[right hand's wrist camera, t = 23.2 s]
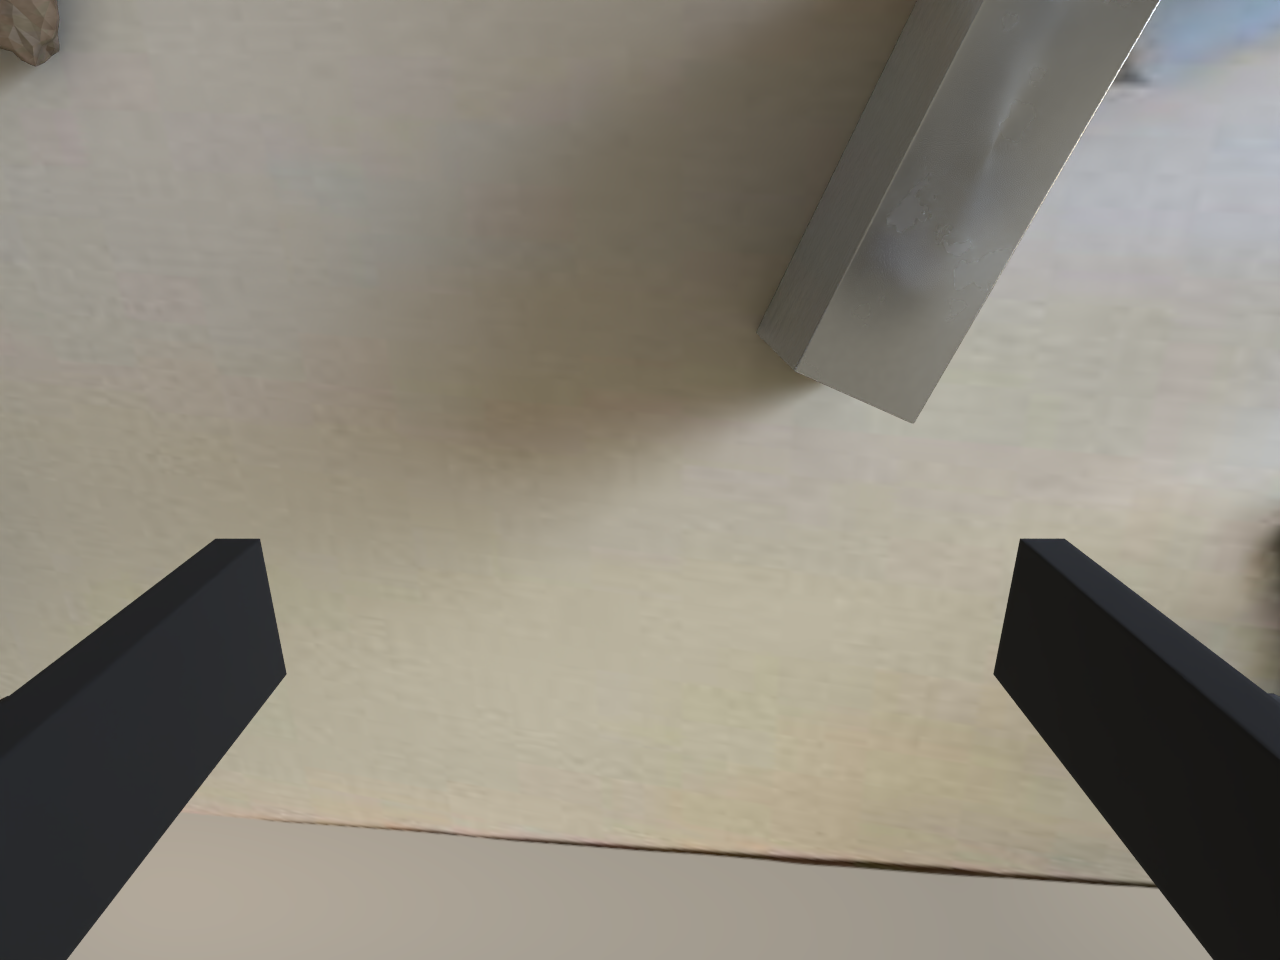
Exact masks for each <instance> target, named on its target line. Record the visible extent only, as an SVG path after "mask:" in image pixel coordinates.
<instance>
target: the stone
mask: <svg viewBox="0 0 1280 960" xmlns="http://www.w3.org/2000/svg"><path fill="white" fill-rule="evenodd" d="M58 26H59V13H58V6H57V0H0V48H1V49H5V50H9V51H13V52H14V53H15V54H16V55H17V56H18V57H19V58H20V59H21V60H22V61H24V62H27V63H29V64H31V65H33V66H38V65H40V64H42V63H45V62H46V61H47V60H48V59H49V58H50V57H51V56H52V55H54V54H55V53H57V52H58V51H59V40H58Z"/></svg>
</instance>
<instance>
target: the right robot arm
mask: <svg viewBox="0 0 1280 960" xmlns="http://www.w3.org/2000/svg"><path fill="white" fill-rule="evenodd" d="M285 675H286V669H285V664H284V659H283V654H282V649H281V644H280V639H279V634H278V628H277V623H276V618H275V613H274V608H273V603H272V598H271V593H270V588H269V583H268V578H267V573H266V567H265V562H264V557H263V552H262V547H261V542H260V539H215V540H213V541H212V542H211V543H209V544H208V545H207V546H205V547H204V548H203V549H201V550H200V551H199V552H198V553H196V554H195V555H194V556H192V557H191V558H190V559H188V560H187V561H186V562H184V563H183V564H182V565H180V566H179V567H178V568H177V569H175V570H174V571H173V572H171V573H170V574H169V575H167V576H166V577H165V578H163V579H162V580H161V581H159V582H158V583H157V584H156V585H154V586H153V587H152V588H150V589H149V590H148V591H146V592H145V593H144V594H142V595H141V596H140V597H138V598H137V599H136V600H135V601H133V602H132V603H131V604H129V605H128V606H127V607H125V608H124V609H123V610H121V611H120V612H119V613H117V614H116V615H115V616H114V617H112V618H111V619H110V620H108V621H107V622H106V623H104V624H103V625H102V626H100V627H99V628H98V629H97V630H95V631H94V632H93V633H91V634H90V635H89V636H87V637H86V638H85V639H83V640H82V641H81V642H79V643H78V644H77V645H76V646H74V647H73V648H72V649H70V650H69V651H68V652H66V653H65V654H64V655H62V656H61V657H60V658H58V659H57V660H56V661H55V662H53V663H52V664H51V665H49V666H48V667H47V668H45V669H44V670H43V671H41V672H40V673H39V674H37V675H36V676H35V677H34V678H32V679H31V680H30V681H28V682H27V683H26V684H24V685H23V686H22V687H20V688H19V689H18V690H16V691H15V692H14V693H13V694H11V695H10V696H7V697H5V698H3V699H1V700H0V960H67V959H68V957H69V956H70V955H71V953H72V952H73V951H74V949H75V948H76V947H77V946H78V944H79V943H80V942H81V940H82V939H83V938H84V936H85V935H86V934H87V933H88V931H89V930H90V929H91V927H92V926H93V925H94V923H95V922H96V921H97V920H98V918H99V917H100V916H101V914H102V913H103V912H104V911H105V909H106V908H107V907H108V905H109V904H110V903H111V901H112V900H113V899H114V897H115V896H116V895H117V894H118V892H119V891H120V890H121V888H122V887H123V886H124V884H125V883H126V882H127V881H128V879H129V878H130V877H131V875H132V874H133V873H134V872H135V870H136V869H137V868H138V866H139V865H140V864H141V862H142V861H143V860H144V859H145V857H146V856H147V855H148V853H149V852H150V851H151V849H152V848H153V847H154V846H155V844H156V843H157V842H158V840H159V839H160V838H161V836H162V835H163V834H164V833H165V831H166V830H167V829H168V827H169V826H170V825H171V823H172V822H173V821H174V820H175V818H176V817H177V816H178V814H179V813H180V812H181V811H182V809H183V808H184V807H185V805H186V804H187V803H188V801H189V800H190V799H191V798H192V796H193V795H194V794H195V792H196V791H197V790H198V788H199V787H200V786H201V785H202V783H203V782H204V781H205V779H206V778H207V777H208V775H209V774H210V773H211V772H212V770H213V769H214V768H215V766H216V765H217V764H218V762H219V761H220V760H221V759H222V757H223V756H224V755H225V753H226V752H227V751H228V749H229V748H230V747H231V746H232V744H233V743H234V742H235V740H236V739H237V738H238V737H239V735H240V734H241V733H242V731H243V730H244V729H245V727H246V726H247V725H248V724H249V722H250V721H251V720H252V718H253V717H254V716H255V714H256V713H257V712H258V711H259V709H260V708H261V707H262V705H263V704H264V703H265V701H266V700H267V699H268V698H269V696H270V695H271V694H272V692H273V691H274V690H275V688H276V687H277V686H278V685H279V683H280V682H281V681H282V679H283V678H284V677H285ZM994 675H995V677H996V678H997V679H998V681H999V682H1000V683H1001V685H1002V686H1003V687H1004V688H1005V690H1006V691H1007V692H1008V694H1009V695H1010V696H1011V698H1012V699H1013V700H1014V701H1015V703H1016V704H1017V705H1018V707H1019V708H1020V709H1021V711H1022V712H1023V713H1024V714H1025V716H1026V717H1027V718H1028V720H1029V721H1030V722H1031V724H1032V725H1033V726H1034V727H1035V729H1036V730H1037V731H1038V733H1039V734H1040V735H1041V737H1042V738H1043V739H1044V740H1045V742H1046V743H1047V744H1048V746H1049V747H1050V748H1051V749H1052V751H1053V752H1054V753H1055V755H1056V756H1057V757H1058V759H1059V760H1060V761H1061V762H1062V764H1063V765H1064V766H1065V768H1066V769H1067V770H1068V772H1069V773H1070V774H1071V775H1072V777H1073V778H1074V779H1075V781H1076V782H1077V783H1078V785H1079V786H1080V787H1081V788H1082V790H1083V791H1084V792H1085V794H1086V795H1087V796H1088V798H1089V799H1090V800H1091V801H1092V803H1093V804H1094V805H1095V807H1096V808H1097V809H1098V811H1099V812H1100V813H1101V814H1102V816H1103V817H1104V818H1105V820H1106V821H1107V822H1108V824H1109V825H1110V826H1111V827H1112V829H1113V830H1114V831H1115V833H1116V834H1117V835H1118V836H1119V838H1120V839H1121V840H1122V842H1123V843H1124V844H1125V846H1126V847H1127V848H1128V849H1129V851H1130V852H1131V853H1132V855H1133V856H1134V857H1135V859H1136V860H1137V861H1138V862H1139V864H1140V865H1141V866H1142V868H1143V869H1144V870H1145V872H1146V873H1147V874H1148V875H1149V877H1150V878H1151V879H1152V881H1153V882H1154V883H1155V885H1156V886H1157V887H1158V888H1159V890H1160V891H1161V892H1162V894H1163V895H1164V896H1165V897H1166V899H1167V900H1168V901H1169V903H1170V904H1171V905H1172V907H1173V908H1174V909H1175V910H1176V912H1177V913H1178V914H1179V916H1180V917H1181V918H1182V920H1183V921H1184V922H1185V923H1186V925H1187V926H1188V927H1189V929H1190V930H1191V931H1192V933H1193V934H1194V935H1195V936H1196V938H1197V939H1198V940H1199V942H1200V943H1201V944H1202V946H1203V947H1204V948H1205V949H1206V951H1207V952H1208V953H1209V955H1210V956H1211V957H1212V959H1213V960H1280V697H1279V696H1277V695H1275V694H1267V693H1266V692H1265V691H1264V690H1262V689H1261V688H1260V687H1258V686H1257V685H1256V684H1254V683H1253V682H1252V681H1250V680H1249V679H1248V678H1246V677H1245V676H1244V675H1243V674H1241V673H1240V672H1239V671H1237V670H1236V669H1235V668H1233V667H1232V666H1231V665H1229V664H1228V663H1227V662H1225V661H1224V660H1223V659H1222V658H1220V657H1219V656H1218V655H1216V654H1215V653H1214V652H1212V651H1211V650H1210V649H1208V648H1207V647H1206V646H1204V645H1203V644H1202V643H1201V642H1199V641H1198V640H1197V639H1195V638H1194V637H1193V636H1191V635H1190V634H1189V633H1187V632H1186V631H1185V630H1183V629H1182V628H1181V627H1180V626H1178V625H1177V624H1176V623H1174V622H1173V621H1172V620H1170V619H1169V618H1168V617H1166V616H1165V615H1164V614H1163V613H1161V612H1160V611H1159V610H1157V609H1156V608H1155V607H1153V606H1152V605H1151V604H1149V603H1148V602H1147V601H1145V600H1144V599H1143V598H1142V597H1140V596H1139V595H1138V594H1136V593H1135V592H1134V591H1132V590H1131V589H1130V588H1128V587H1127V586H1126V585H1124V584H1123V583H1122V582H1121V581H1119V580H1118V579H1117V578H1115V577H1114V576H1113V575H1111V574H1110V573H1109V572H1107V571H1106V570H1105V569H1103V568H1102V567H1101V566H1100V565H1098V564H1097V563H1096V562H1094V561H1093V560H1092V559H1090V558H1089V557H1088V556H1086V555H1085V554H1084V553H1082V552H1081V551H1080V550H1079V549H1077V548H1076V547H1075V546H1073V545H1072V544H1071V543H1069V542H1068V541H1067V540H1065V539H1020V542H1019V547H1018V552H1017V557H1016V562H1015V567H1014V572H1013V578H1012V583H1011V588H1010V593H1009V598H1008V603H1007V608H1006V613H1005V618H1004V623H1003V628H1002V634H1001V639H1000V644H999V649H998V654H997V659H996V664H995V669H994Z"/></svg>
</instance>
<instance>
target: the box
mask: <svg viewBox="0 0 1280 960" xmlns="http://www.w3.org/2000/svg"><path fill="white" fill-rule="evenodd" d="M1160 1H1161V0H917V2H916V4H915V6H914V8H913V10H912V12H911V15H910V17H909V19H908V21H907V23H906V25H905V27H904V29H903V31H902V33H901V35H900V37H899V39H898V41H897V43H896V45H895V48H894V50H893V52H892V54H891V56H890V58H889V60H888V62H887V64H886V66H885V68H884V70H883V72H882V74H881V76H880V78H879V80H878V83H877V85H876V87H875V89H874V91H873V93H872V95H871V97H870V99H869V101H868V103H867V105H866V107H865V109H864V111H863V113H862V116H861V118H860V120H859V122H858V124H857V126H856V128H855V130H854V132H853V134H852V136H851V138H850V140H849V142H848V144H847V146H846V149H845V151H844V153H843V155H842V157H841V159H840V161H839V163H838V165H837V167H836V169H835V171H834V173H833V175H832V177H831V179H830V181H829V184H828V186H827V188H826V190H825V192H824V194H823V196H822V198H821V200H820V202H819V204H818V206H817V208H816V210H815V212H814V214H813V217H812V219H811V221H810V223H809V225H808V227H807V229H806V231H805V233H804V235H803V237H802V239H801V241H800V243H799V245H798V247H797V250H796V252H795V254H794V256H793V258H792V260H791V262H790V264H789V266H788V268H787V270H786V272H785V274H784V276H783V278H782V280H781V282H780V285H779V287H778V289H777V291H776V293H775V295H774V297H773V299H772V301H771V303H770V305H769V307H768V309H767V311H766V313H765V315H764V318H763V320H762V322H761V324H760V326H759V328H758V330H757V334H758V335H759V336H760V337H761V338H762V339H763V340H764V341H765V342H766V343H767V344H768V345H769V346H770V347H771V348H772V349H773V350H774V351H775V352H776V353H777V354H778V355H779V356H780V357H781V358H782V359H783V360H784V361H785V362H786V363H787V364H788V365H789V366H790V367H791V368H792V369H793V370H794V371H795V372H797V373H800V374H802V375H804V376H806V377H809V378H811V379H813V380H815V381H818V382H820V383H822V384H824V385H827V386H829V387H831V388H833V389H836V390H838V391H840V392H842V393H845V394H847V395H849V396H851V397H854V398H856V399H858V400H860V401H863V402H865V403H867V404H869V405H872V406H874V407H876V408H878V409H881V410H883V411H885V412H887V413H890V414H892V415H894V416H896V417H899V418H901V419H903V420H905V421H908V422H910V423H914V422H915V421H916V419H917V417H918V416H919V414H920V412H921V410H922V409H923V407H924V405H925V404H926V402H927V400H928V398H929V397H930V395H931V393H932V392H933V390H934V388H935V386H936V385H937V383H938V381H939V380H940V378H941V376H942V374H943V373H944V371H945V369H946V368H947V366H948V364H949V362H950V361H951V359H952V357H953V356H954V354H955V352H956V350H957V349H958V347H959V345H960V344H961V342H962V340H963V338H964V337H965V335H966V333H967V332H968V330H969V328H970V326H971V325H972V323H973V321H974V320H975V318H976V316H977V314H978V313H979V311H980V309H981V307H982V306H983V304H984V302H985V301H986V299H987V297H988V295H989V294H990V292H991V290H992V289H993V287H994V285H995V283H996V282H997V280H998V278H999V277H1000V275H1001V273H1002V271H1003V270H1004V268H1005V266H1006V265H1007V263H1008V261H1009V259H1010V258H1011V256H1012V254H1013V253H1014V251H1015V249H1016V247H1017V246H1018V244H1019V242H1020V241H1021V239H1022V237H1023V235H1024V234H1025V232H1026V230H1027V229H1028V227H1029V225H1030V223H1031V222H1032V220H1033V218H1034V217H1035V215H1036V213H1037V211H1038V210H1039V208H1040V206H1041V205H1042V203H1043V201H1044V199H1045V198H1046V196H1047V194H1048V193H1049V191H1050V189H1051V187H1052V186H1053V184H1054V182H1055V181H1056V179H1057V177H1058V175H1059V174H1060V172H1061V170H1062V169H1063V167H1064V165H1065V163H1066V162H1067V160H1068V158H1069V157H1070V155H1071V153H1072V151H1073V150H1074V148H1075V146H1076V145H1077V143H1078V141H1079V139H1080V138H1081V136H1082V134H1083V133H1084V131H1085V129H1086V127H1087V126H1088V124H1089V122H1090V121H1091V119H1092V117H1093V115H1094V114H1095V112H1096V110H1097V109H1098V107H1099V105H1100V103H1101V102H1102V100H1103V98H1104V97H1105V95H1106V93H1107V91H1108V90H1109V88H1110V86H1111V85H1112V83H1113V81H1114V79H1115V78H1116V76H1117V74H1118V73H1119V71H1120V69H1121V67H1122V66H1123V64H1124V62H1125V61H1126V59H1127V57H1128V55H1129V54H1130V52H1131V50H1132V49H1133V47H1134V45H1135V43H1136V42H1137V40H1138V38H1139V37H1140V35H1141V33H1142V31H1143V30H1144V28H1145V26H1146V25H1147V23H1148V21H1149V19H1150V18H1151V16H1152V14H1153V13H1154V11H1155V9H1156V7H1157V6H1158V4H1159V2H1160Z"/></svg>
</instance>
